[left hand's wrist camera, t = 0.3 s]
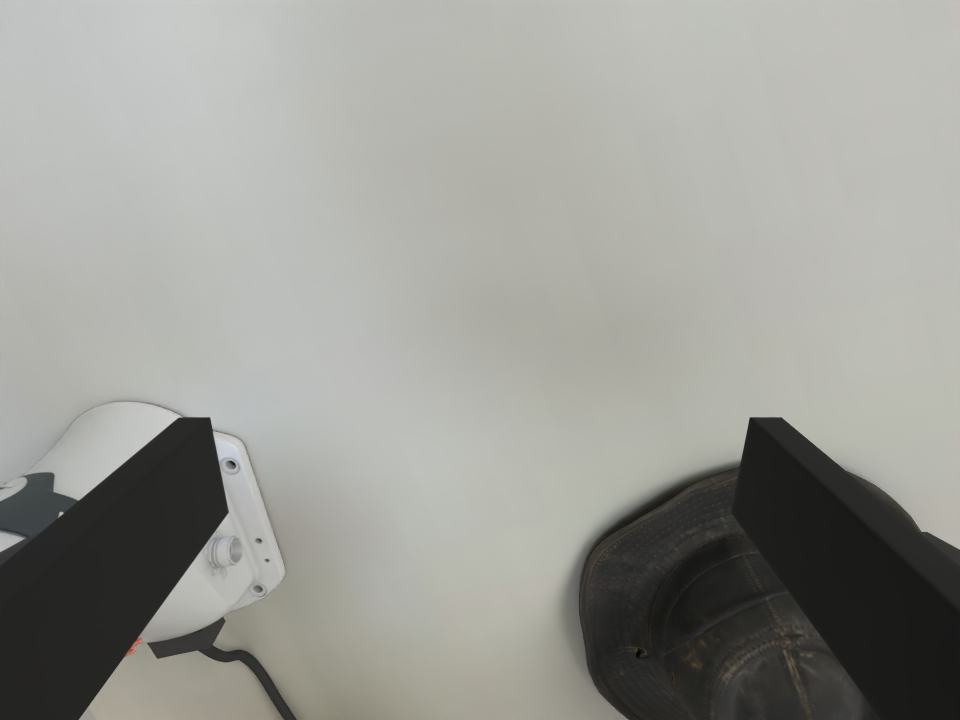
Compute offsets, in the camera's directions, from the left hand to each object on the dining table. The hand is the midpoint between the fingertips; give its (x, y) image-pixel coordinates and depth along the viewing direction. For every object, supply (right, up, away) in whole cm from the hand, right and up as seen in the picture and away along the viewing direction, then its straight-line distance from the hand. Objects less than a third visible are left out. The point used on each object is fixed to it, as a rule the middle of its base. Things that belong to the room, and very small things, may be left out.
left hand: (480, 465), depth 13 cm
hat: (+26, -22, +38) cm, 51 cm away
